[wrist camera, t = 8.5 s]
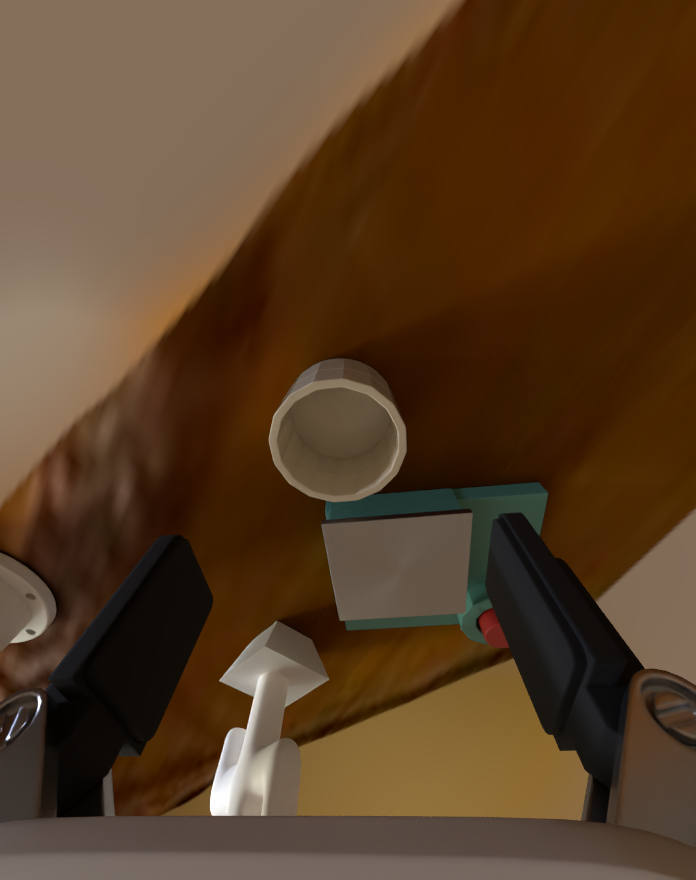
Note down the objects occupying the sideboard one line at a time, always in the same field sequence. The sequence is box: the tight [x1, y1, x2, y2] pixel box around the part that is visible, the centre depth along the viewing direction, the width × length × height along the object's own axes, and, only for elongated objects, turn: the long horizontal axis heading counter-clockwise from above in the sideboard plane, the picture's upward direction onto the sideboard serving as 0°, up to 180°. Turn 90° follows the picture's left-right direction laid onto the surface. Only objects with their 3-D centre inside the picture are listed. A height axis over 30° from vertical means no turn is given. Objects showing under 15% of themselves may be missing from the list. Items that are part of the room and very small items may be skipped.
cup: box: [269, 358, 407, 502], centre depth 19 cm, size 7×7×5 cm
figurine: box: [210, 621, 329, 816], centre depth 26 cm, size 7×9×15 cm
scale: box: [325, 482, 548, 644], centre depth 26 cm, size 16×14×3 cm
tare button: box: [478, 608, 509, 648], centre depth 26 cm, size 3×3×2 cm
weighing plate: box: [322, 488, 473, 621], centre depth 25 cm, size 10×10×4 cm
